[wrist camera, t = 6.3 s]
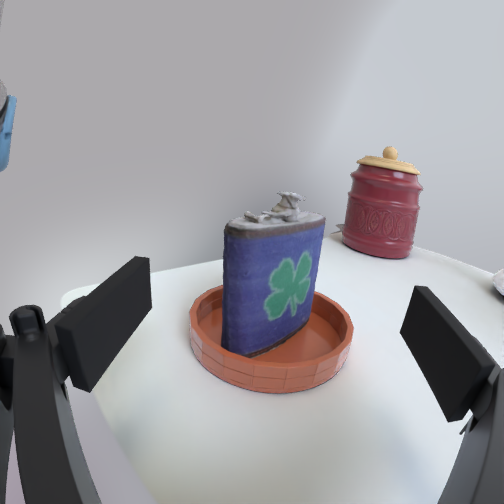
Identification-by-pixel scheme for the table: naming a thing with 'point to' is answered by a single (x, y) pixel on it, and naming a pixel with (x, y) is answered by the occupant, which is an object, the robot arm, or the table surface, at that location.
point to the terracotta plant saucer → (281, 358)
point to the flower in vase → (499, 281)
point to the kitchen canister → (382, 206)
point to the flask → (269, 276)
